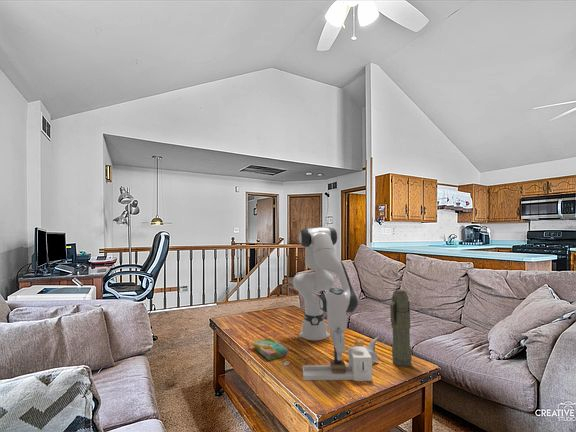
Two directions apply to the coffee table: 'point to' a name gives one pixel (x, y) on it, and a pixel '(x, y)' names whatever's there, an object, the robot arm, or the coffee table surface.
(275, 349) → the puzzle game
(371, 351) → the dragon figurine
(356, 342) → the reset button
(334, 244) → the robot arm
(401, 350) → the thermos
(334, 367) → the carriage
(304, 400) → the coffee table surface
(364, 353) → the rail base
